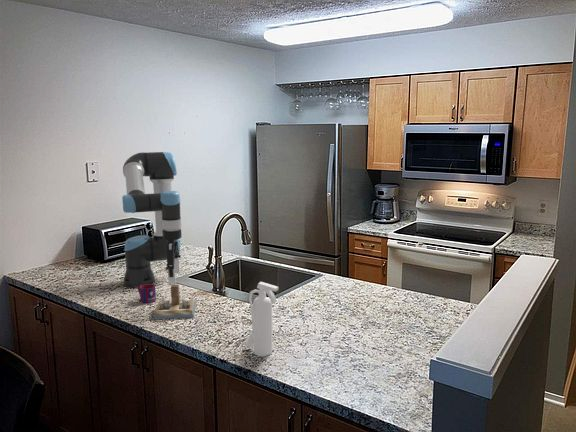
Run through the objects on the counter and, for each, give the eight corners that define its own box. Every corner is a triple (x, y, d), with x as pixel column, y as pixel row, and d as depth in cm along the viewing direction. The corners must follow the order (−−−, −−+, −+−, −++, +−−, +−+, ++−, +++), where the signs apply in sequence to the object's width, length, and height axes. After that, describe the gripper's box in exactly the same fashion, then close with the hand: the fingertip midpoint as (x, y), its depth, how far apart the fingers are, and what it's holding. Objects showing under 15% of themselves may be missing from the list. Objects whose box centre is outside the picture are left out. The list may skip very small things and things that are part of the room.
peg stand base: (194, 304, 199) (193, 282, 197) (192, 314, 188) (191, 290, 187) (159, 305, 198) (157, 283, 196) (154, 316, 187) (153, 292, 185)
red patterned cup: (145, 304, 202) (144, 290, 201) (134, 299, 209) (133, 284, 208) (158, 300, 207) (158, 286, 206) (147, 295, 214) (146, 281, 212)
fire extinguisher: (251, 342, 165) (251, 276, 160) (280, 351, 160) (281, 283, 154) (240, 350, 160) (240, 282, 154) (270, 360, 154) (271, 289, 148)
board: (159, 304, 202) (159, 294, 201) (196, 302, 204) (196, 292, 203) (153, 319, 187) (152, 307, 186) (193, 317, 188) (193, 306, 188)
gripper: (166, 222, 200) (169, 269, 205) (157, 236, 176) (160, 289, 180) (184, 222, 201) (186, 268, 205) (177, 236, 177) (179, 288, 181)
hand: (174, 278), depth 193 cm, fingers open, 13 cm apart
